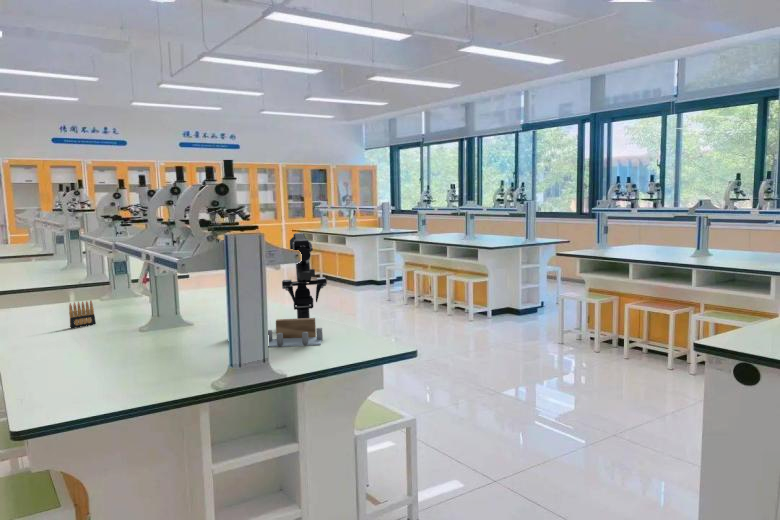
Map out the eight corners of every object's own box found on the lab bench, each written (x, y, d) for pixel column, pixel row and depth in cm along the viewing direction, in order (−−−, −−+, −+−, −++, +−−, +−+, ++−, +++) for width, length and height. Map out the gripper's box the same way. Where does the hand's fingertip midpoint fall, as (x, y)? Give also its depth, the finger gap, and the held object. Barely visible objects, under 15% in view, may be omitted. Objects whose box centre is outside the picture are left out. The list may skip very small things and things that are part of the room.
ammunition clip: (70, 328, 270) (68, 303, 268) (70, 328, 271) (67, 303, 269) (95, 324, 276) (93, 300, 275) (95, 324, 278) (92, 299, 276)
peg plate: (267, 340, 239) (267, 328, 238) (323, 338, 239) (322, 326, 239) (263, 347, 228) (262, 335, 228) (321, 345, 229) (320, 332, 229)
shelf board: (277, 337, 243) (276, 319, 242) (316, 336, 243) (315, 317, 242) (276, 339, 240) (275, 321, 239) (315, 338, 240) (314, 319, 239)
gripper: (281, 263, 239) (283, 300, 235) (326, 261, 243) (329, 297, 239) (281, 270, 250) (283, 305, 246) (324, 267, 254) (327, 302, 250)
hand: (305, 302), depth 245 cm, fingers open, 9 cm apart
